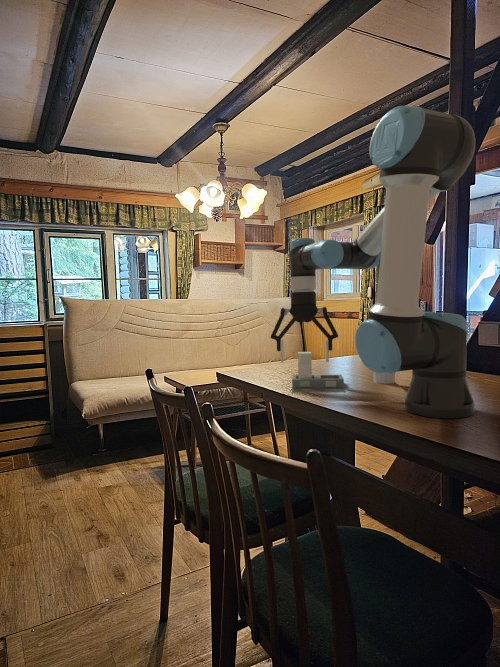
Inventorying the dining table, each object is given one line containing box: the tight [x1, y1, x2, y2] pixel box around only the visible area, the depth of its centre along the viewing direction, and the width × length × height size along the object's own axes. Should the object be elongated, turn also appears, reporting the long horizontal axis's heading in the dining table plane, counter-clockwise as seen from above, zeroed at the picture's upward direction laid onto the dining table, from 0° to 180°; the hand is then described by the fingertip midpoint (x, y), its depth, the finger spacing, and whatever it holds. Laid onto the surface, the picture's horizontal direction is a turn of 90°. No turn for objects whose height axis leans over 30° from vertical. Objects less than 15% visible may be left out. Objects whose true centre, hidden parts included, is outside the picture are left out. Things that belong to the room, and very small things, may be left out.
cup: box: [372, 371, 396, 385], centre depth 134 cm, size 8×8×12 cm
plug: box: [297, 351, 313, 379], centre depth 132 cm, size 5×4×10 cm
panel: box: [291, 374, 346, 393], centre depth 132 cm, size 20×15×4 cm
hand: (304, 361), depth 132 cm, fingers open, 13 cm apart
